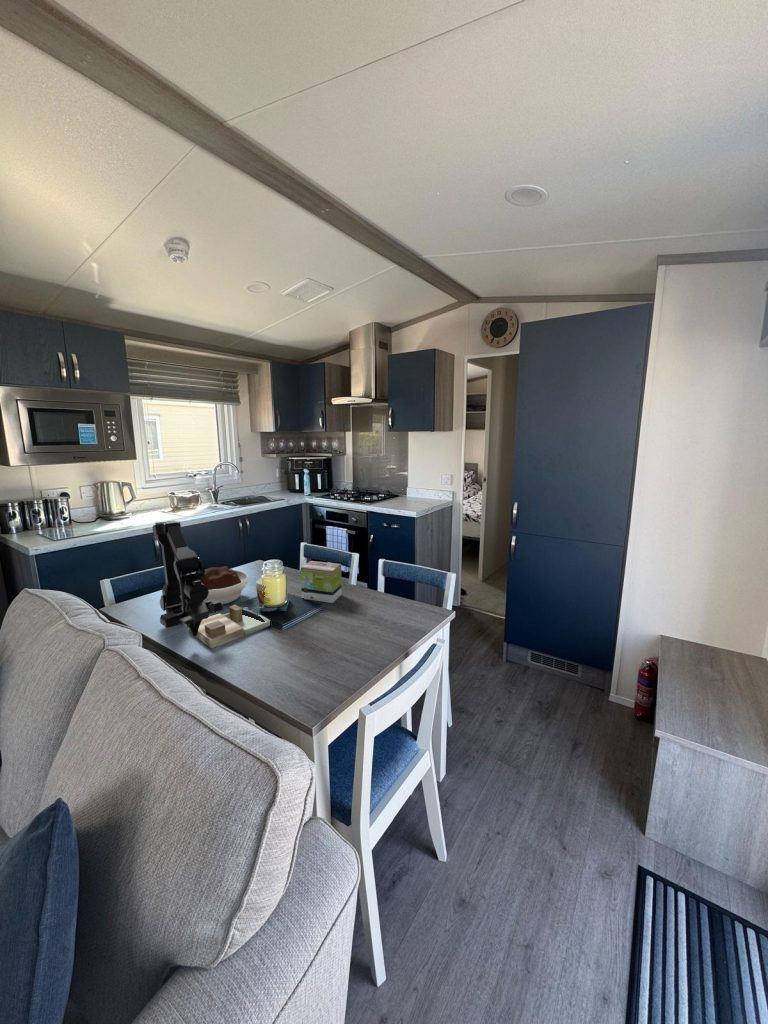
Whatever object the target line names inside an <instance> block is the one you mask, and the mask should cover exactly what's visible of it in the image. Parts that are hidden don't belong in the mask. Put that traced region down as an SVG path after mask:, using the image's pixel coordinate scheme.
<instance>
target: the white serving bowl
mask: <svg viewBox="0 0 768 1024" xmlns="http://www.w3.org/2000/svg"><path fill="white" fill-rule="evenodd" d="M204 569H205V568H204ZM198 572H200V571H199V570H198ZM204 574H205V577H202V578H200V580H201V583H203V584H204V585H205V586H206V587H207V588H208V591H209V593H208V596H207V598H206V599H205V600H204V601H203V602H204V603H205V602H206V601H209V600H212V599H216V600H217V601H219V602H221V603H222V605H224V604H225V605H226V604H229V603H232V602H234V601H236V600H237V599H239V597H241V595H242V593H243V590H244V589H245V588H246V586H247V584H248V582H249V575H248V574H247V573H246V572H244V571H241V570H236V569H232V568H229V566H220V567H217V566H216V567H215V566H213V567H208V568H206V569H205V573H204Z"/></svg>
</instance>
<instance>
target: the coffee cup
mask: <svg viewBox="0 0 768 1024" xmlns="http://www.w3.org/2000/svg"><path fill="white" fill-rule="evenodd" d="M262 578H263V577H261V578H259V579H257V580H256V581H255V587H256V588H255V589H256V593H257V594H256V595H257V602H258V607H259V606H260V607H262V606H263V605H264V597H265V596H264V595H265V592H264V590H265V588H266V586H265V587H264V584H262ZM262 585H263V586H262ZM262 588H263V589H262ZM262 591H263V593H262Z"/></svg>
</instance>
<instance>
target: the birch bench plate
mask: <svg viewBox="0 0 768 1024" xmlns="http://www.w3.org/2000/svg"><path fill="white" fill-rule="evenodd" d="M223 615H224V614H222V613H217V614H214V615H211V616H210V615H209V617H208V618H207V619H203V620H202V621H201V623H200V626H199V629H198V633H197V636H195V637H196V638H197V639H198V640H199V641H201V642H202V643H203V644H205V645H206V646H207V647H209V648H210V649H215V648H216V647H219V646H222V645H224V644H227V643H229V642H233V641H234V640H238V639H239V638H242V637H245V636H244V628H243V627H241V626H239V625H238V624H236V623H235V622H233V621H231V620H230V619H228V618H226V617H225V616H223ZM218 620H219V621H220V622H222V623H223V624H225V630H226V631H225V632H222V633H220V634H217V635H214V636H210V635H209V634H208V633H206V632H205V625H206V624H209V623H212V622H215V621H218ZM188 632H189V633H190V634H192V633H191V632H190V630H189V629H188Z"/></svg>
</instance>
